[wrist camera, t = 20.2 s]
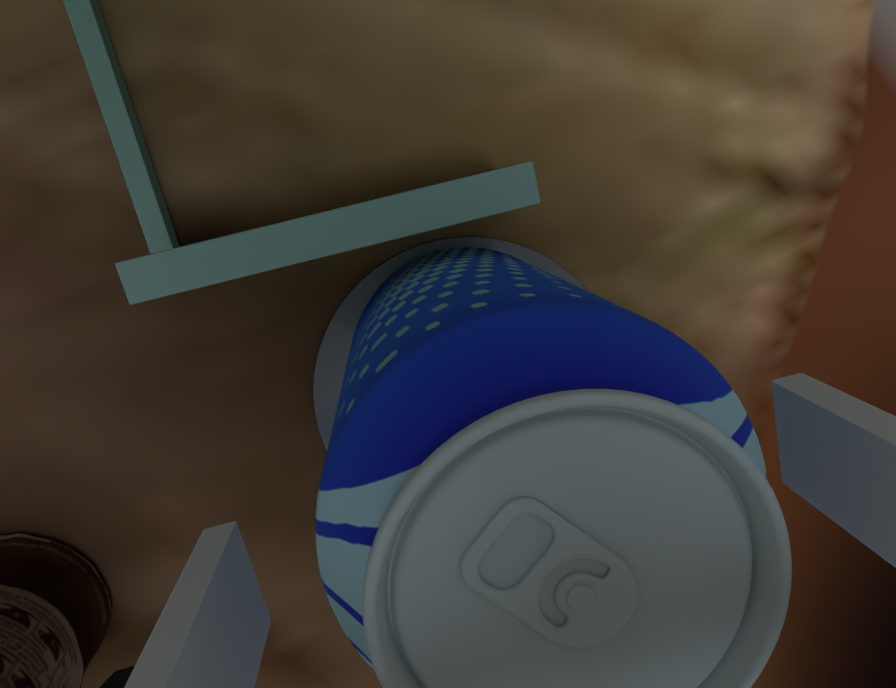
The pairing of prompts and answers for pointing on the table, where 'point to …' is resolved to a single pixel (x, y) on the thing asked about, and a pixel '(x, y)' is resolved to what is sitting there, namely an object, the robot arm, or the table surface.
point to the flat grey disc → (348, 313)
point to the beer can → (543, 492)
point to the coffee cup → (48, 613)
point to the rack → (274, 241)
